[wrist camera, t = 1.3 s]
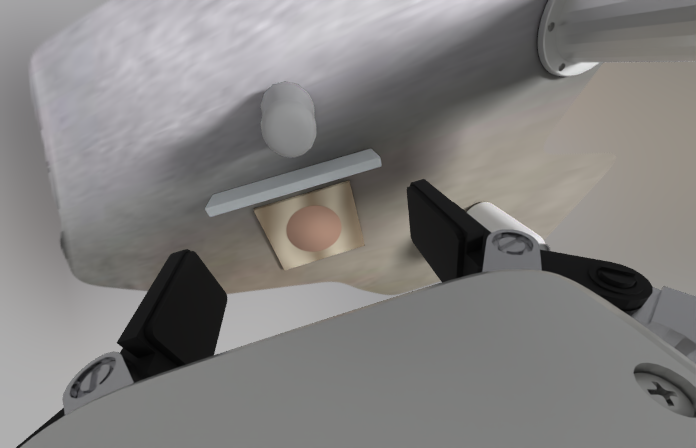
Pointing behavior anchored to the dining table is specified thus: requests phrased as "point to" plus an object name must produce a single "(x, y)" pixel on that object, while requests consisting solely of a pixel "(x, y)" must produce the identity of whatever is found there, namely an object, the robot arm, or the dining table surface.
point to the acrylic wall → (292, 182)
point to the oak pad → (312, 225)
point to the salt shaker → (288, 119)
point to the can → (500, 221)
